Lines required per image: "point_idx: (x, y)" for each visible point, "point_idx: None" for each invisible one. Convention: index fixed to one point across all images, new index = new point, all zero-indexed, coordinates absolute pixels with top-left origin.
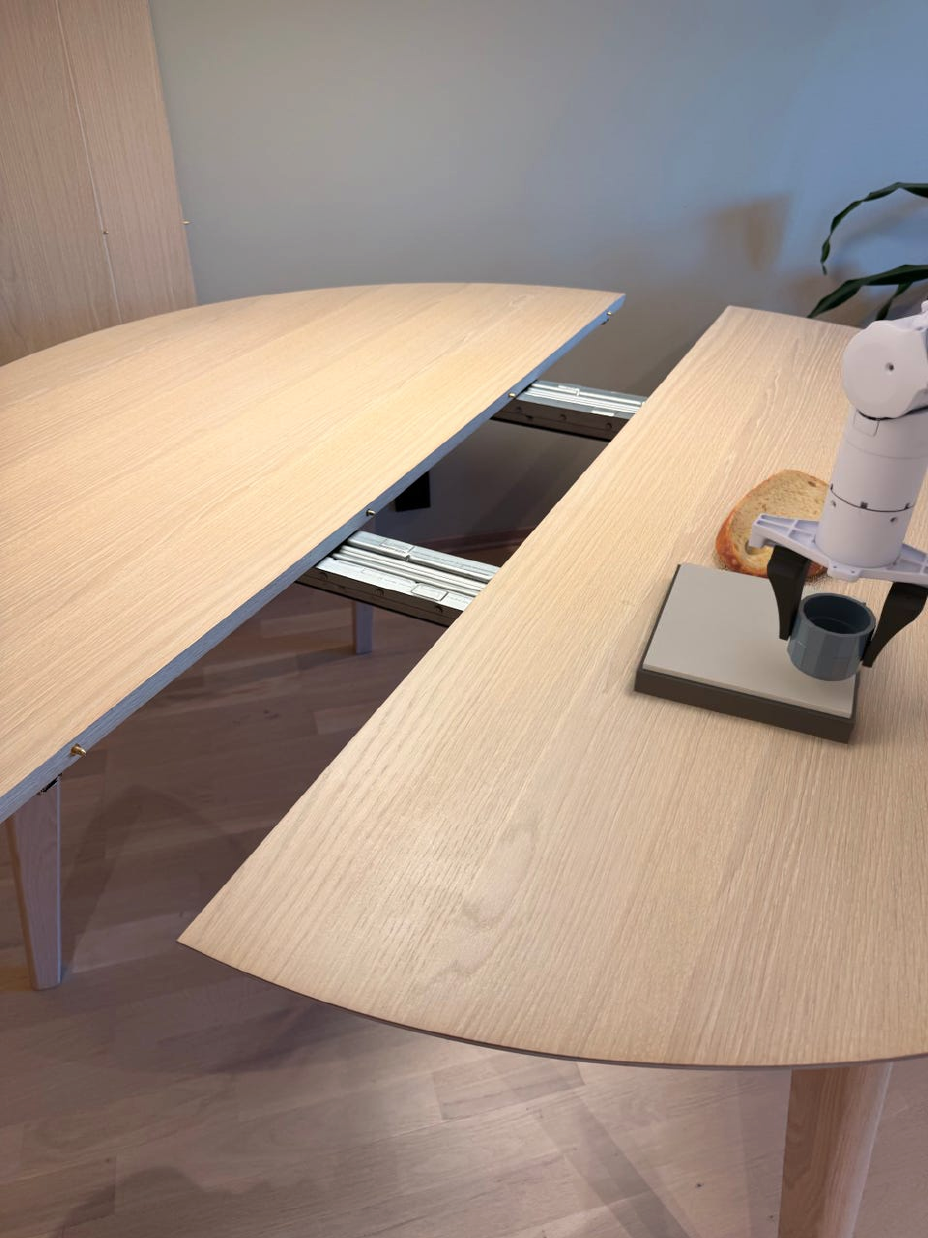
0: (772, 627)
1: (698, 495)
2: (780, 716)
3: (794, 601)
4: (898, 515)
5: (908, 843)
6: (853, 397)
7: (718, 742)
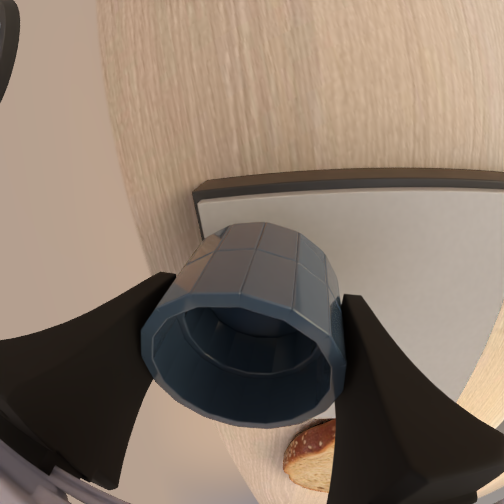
0: None
1: None
2: (311, 174)
3: (366, 385)
4: None
5: (109, 52)
6: None
7: (387, 98)
